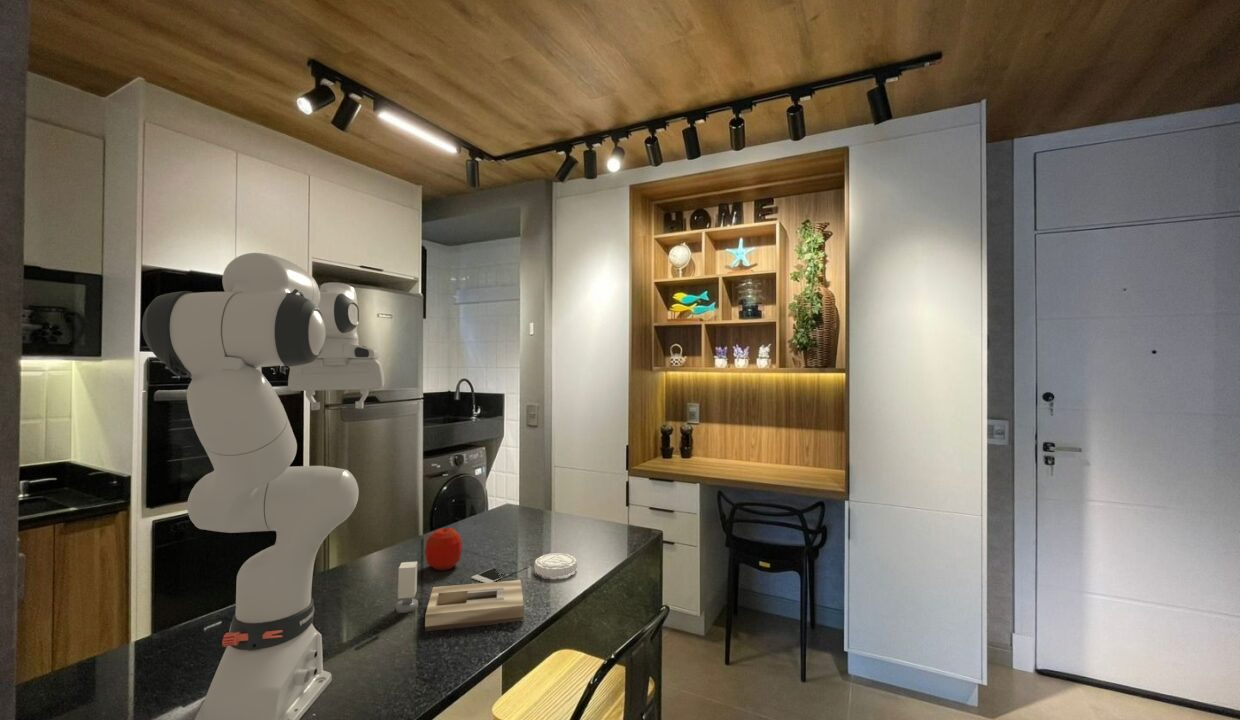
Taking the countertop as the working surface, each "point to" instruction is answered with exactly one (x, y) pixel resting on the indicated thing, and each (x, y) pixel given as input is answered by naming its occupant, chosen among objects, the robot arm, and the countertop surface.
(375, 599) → the countertop surface
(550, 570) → the container lid
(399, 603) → the cream peg
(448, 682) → the countertop surface
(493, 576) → the smartphone
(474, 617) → the keyhole plate
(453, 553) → the apple
